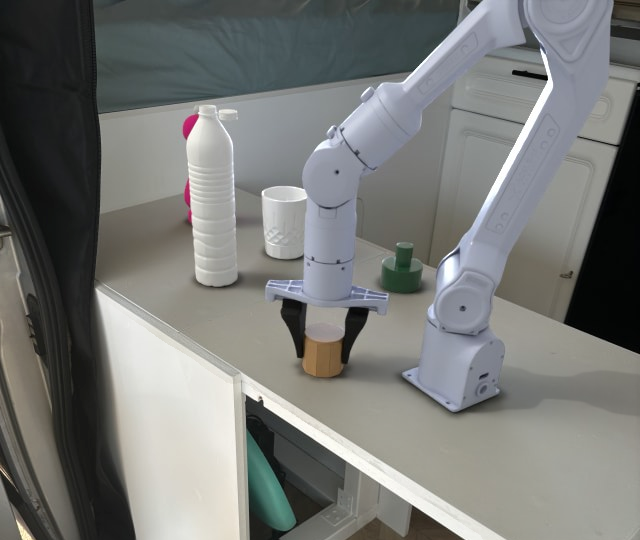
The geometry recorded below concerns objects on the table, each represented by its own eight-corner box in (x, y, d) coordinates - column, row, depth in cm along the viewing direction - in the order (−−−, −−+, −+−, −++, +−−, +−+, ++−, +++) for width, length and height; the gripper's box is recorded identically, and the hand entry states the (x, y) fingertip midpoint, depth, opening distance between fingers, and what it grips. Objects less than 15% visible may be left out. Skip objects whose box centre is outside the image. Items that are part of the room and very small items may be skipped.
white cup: (302, 263, 109) (303, 203, 103) (256, 258, 110) (255, 198, 104) (312, 246, 115) (314, 188, 109) (268, 241, 116) (268, 183, 110)
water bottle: (187, 277, 103) (173, 103, 88) (219, 266, 107) (211, 98, 92) (223, 296, 98) (214, 115, 83) (255, 284, 102) (252, 109, 87)
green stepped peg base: (428, 287, 104) (434, 248, 100) (397, 296, 101) (402, 256, 97) (402, 273, 108) (407, 234, 104) (372, 281, 105) (375, 241, 101)
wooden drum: (350, 370, 83) (353, 335, 80) (317, 381, 80) (318, 346, 77) (328, 352, 86) (330, 318, 83) (295, 363, 84) (295, 328, 81)
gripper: (395, 248, 77) (383, 348, 85) (274, 235, 78) (274, 335, 86) (390, 272, 71) (378, 377, 79) (260, 257, 73) (261, 362, 81)
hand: (323, 357), depth 82 cm, fingers closed on wooden drum, 5 cm apart
